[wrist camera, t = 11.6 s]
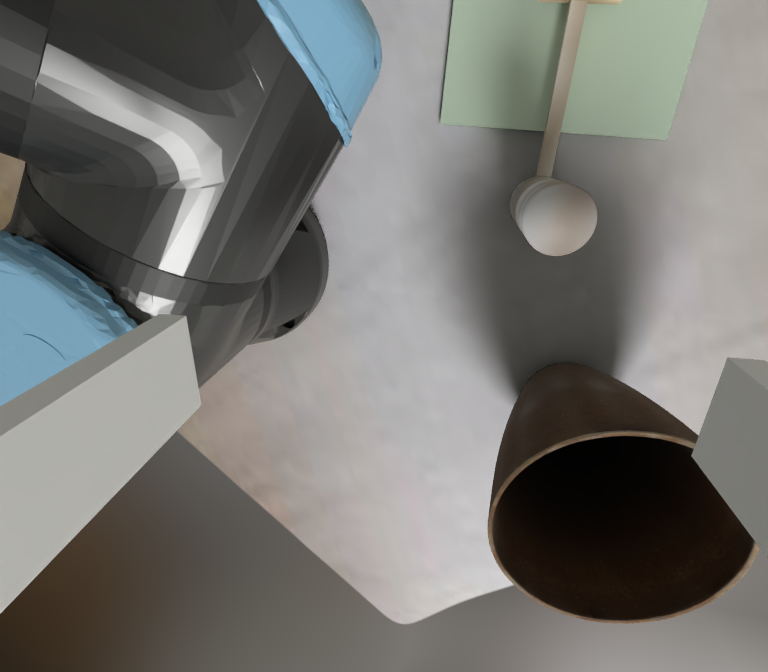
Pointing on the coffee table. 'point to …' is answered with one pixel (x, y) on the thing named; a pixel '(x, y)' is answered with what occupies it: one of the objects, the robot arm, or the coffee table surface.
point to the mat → (591, 70)
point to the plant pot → (608, 504)
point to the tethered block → (542, 193)
